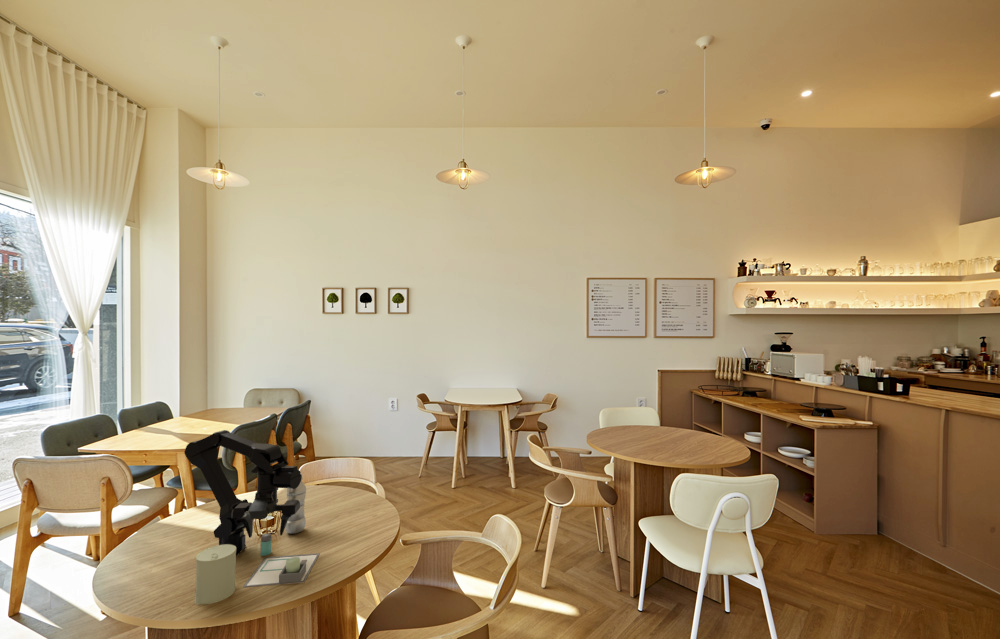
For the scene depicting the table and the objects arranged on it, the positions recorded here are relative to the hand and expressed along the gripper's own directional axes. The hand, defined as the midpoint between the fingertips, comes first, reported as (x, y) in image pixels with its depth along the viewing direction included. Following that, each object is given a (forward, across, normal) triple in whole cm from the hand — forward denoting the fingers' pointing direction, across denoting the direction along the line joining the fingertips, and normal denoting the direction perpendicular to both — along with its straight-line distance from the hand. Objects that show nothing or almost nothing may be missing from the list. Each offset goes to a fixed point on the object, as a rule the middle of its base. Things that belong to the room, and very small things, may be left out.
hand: (266, 536), depth 136 cm
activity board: (+6, +9, -11) cm, 16 cm away
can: (+6, -5, -21) cm, 23 cm away
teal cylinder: (+6, 0, 0) cm, 6 cm away
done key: (+4, +13, -16) cm, 21 cm away
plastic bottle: (+6, +4, +16) cm, 18 cm away
